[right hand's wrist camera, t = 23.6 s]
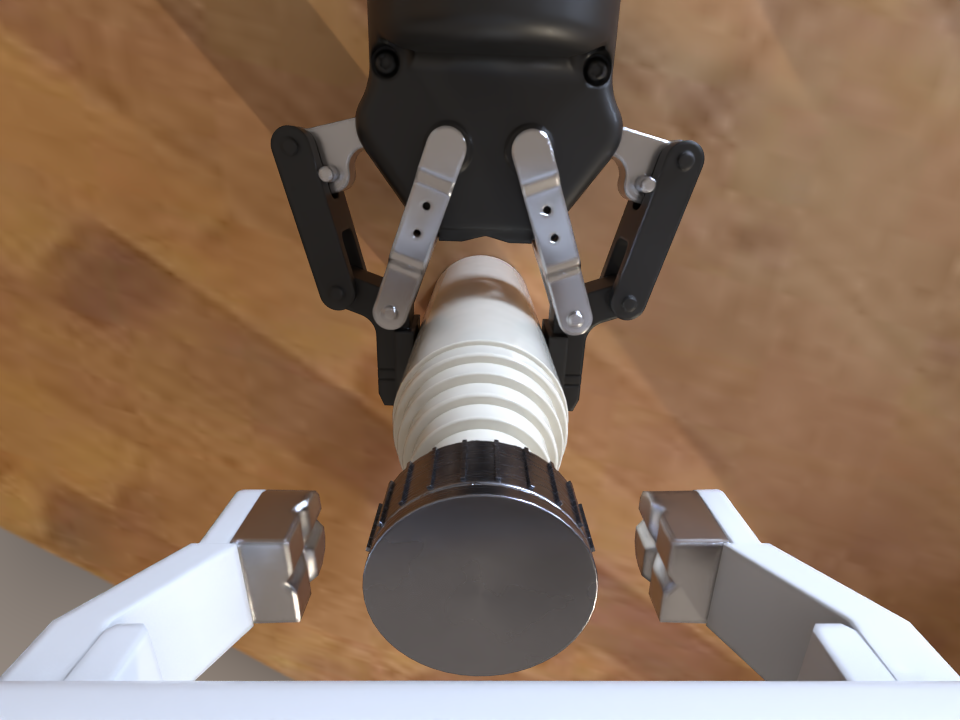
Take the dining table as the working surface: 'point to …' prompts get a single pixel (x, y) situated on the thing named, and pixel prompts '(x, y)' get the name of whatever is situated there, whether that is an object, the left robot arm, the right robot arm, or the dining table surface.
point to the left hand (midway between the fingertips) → (479, 411)
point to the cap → (480, 560)
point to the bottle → (480, 368)
